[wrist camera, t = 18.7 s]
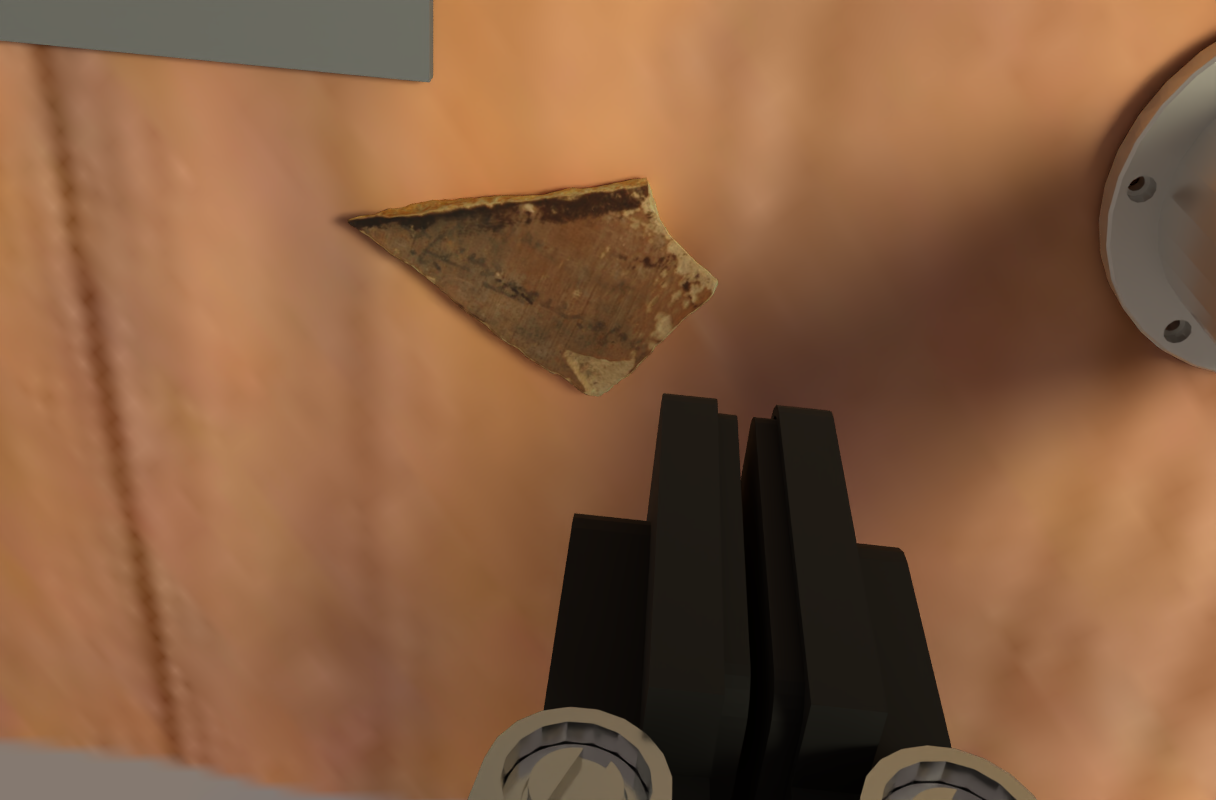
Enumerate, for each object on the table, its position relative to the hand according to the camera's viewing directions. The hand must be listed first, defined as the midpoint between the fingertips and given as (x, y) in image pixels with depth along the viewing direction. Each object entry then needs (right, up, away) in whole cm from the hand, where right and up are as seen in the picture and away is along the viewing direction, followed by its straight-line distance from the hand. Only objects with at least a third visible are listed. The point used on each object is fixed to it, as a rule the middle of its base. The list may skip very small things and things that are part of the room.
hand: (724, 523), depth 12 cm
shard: (-3, +5, +29) cm, 30 cm away
